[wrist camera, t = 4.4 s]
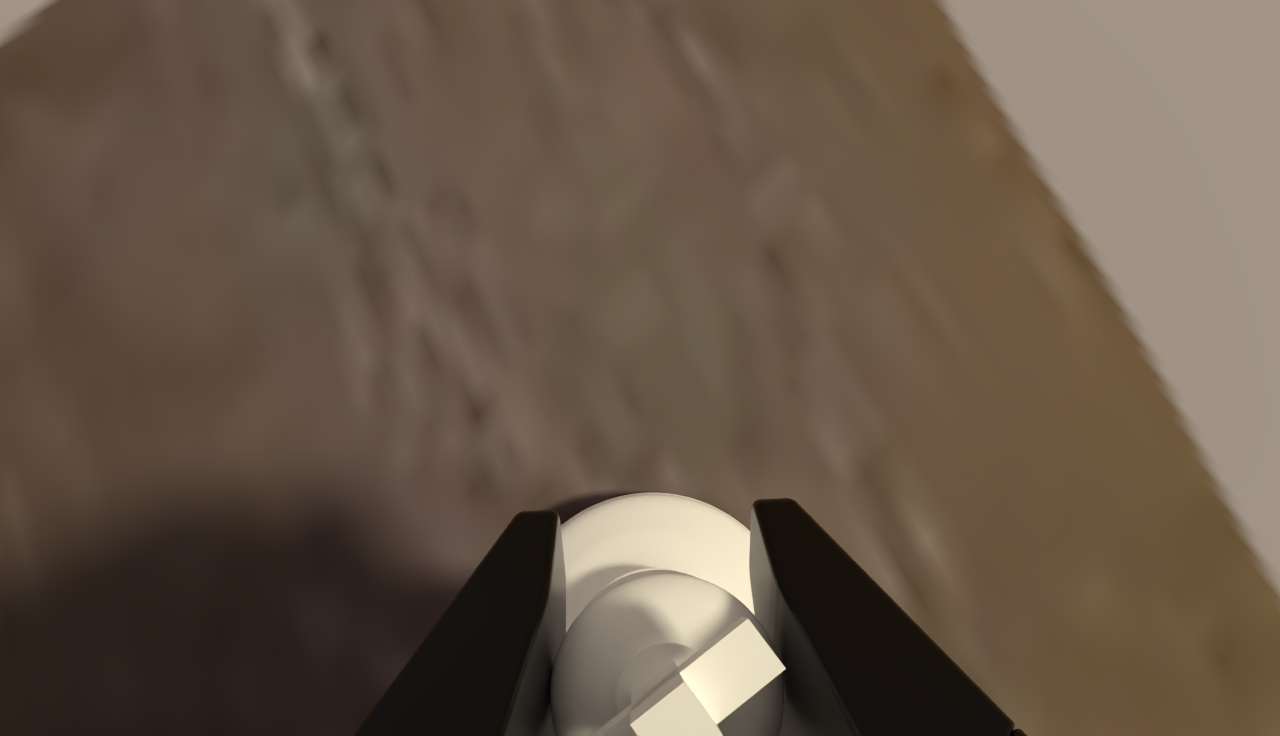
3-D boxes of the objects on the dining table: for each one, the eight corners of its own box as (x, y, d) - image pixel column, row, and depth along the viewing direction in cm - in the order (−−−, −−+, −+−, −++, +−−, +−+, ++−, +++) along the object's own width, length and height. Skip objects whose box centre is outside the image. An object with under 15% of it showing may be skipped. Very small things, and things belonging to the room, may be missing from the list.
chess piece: (449, 609, 16) (147, 651, 6) (679, 437, 16) (742, 224, 7) (622, 862, 15) (595, 1390, 5) (858, 670, 16) (1226, 816, 6)
